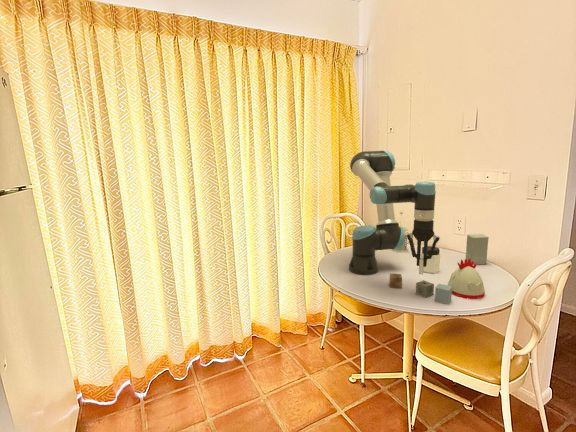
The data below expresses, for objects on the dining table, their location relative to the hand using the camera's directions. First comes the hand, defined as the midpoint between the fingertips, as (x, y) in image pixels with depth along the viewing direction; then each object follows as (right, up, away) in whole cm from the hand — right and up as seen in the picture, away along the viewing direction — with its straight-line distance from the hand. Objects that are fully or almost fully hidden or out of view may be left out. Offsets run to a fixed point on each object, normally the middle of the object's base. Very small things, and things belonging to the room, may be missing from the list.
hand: (421, 273), depth 129 cm
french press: (+15, +2, +62) cm, 64 cm away
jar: (+17, -4, +28) cm, 32 cm away
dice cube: (+2, -10, +1) cm, 10 cm away
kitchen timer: (+20, -9, +2) cm, 22 cm away
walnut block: (-7, -8, +11) cm, 15 cm away
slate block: (+7, -10, -5) cm, 13 cm away
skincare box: (+46, -1, +36) cm, 58 cm away
